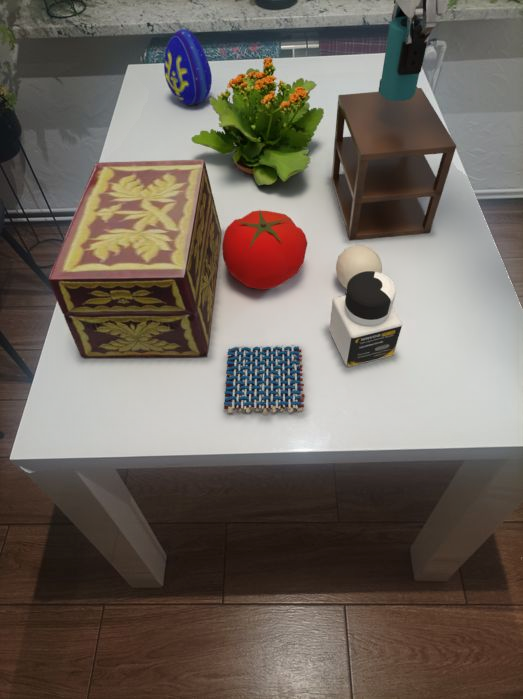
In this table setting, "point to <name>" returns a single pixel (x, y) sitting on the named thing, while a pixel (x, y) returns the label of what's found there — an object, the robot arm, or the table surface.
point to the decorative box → (141, 261)
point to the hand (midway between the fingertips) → (403, 62)
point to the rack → (388, 164)
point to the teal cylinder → (391, 81)
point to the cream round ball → (356, 262)
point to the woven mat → (264, 379)
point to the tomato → (263, 249)
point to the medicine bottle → (365, 319)
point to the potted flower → (264, 124)
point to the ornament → (187, 68)
